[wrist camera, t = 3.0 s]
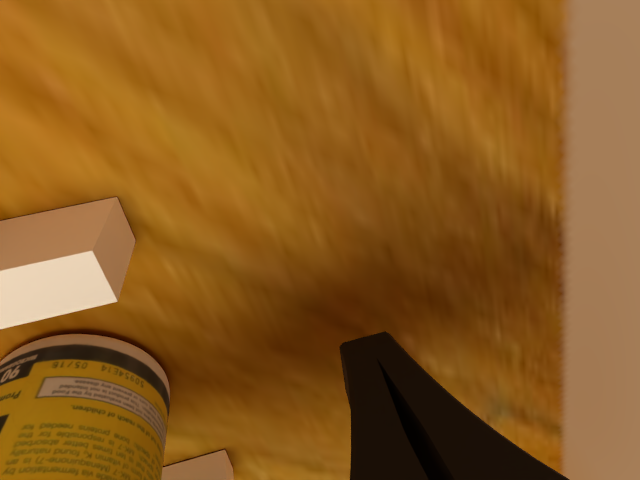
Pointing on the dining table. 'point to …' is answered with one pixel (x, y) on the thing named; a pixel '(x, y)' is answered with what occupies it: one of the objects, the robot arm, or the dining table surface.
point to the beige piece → (77, 282)
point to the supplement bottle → (82, 411)
